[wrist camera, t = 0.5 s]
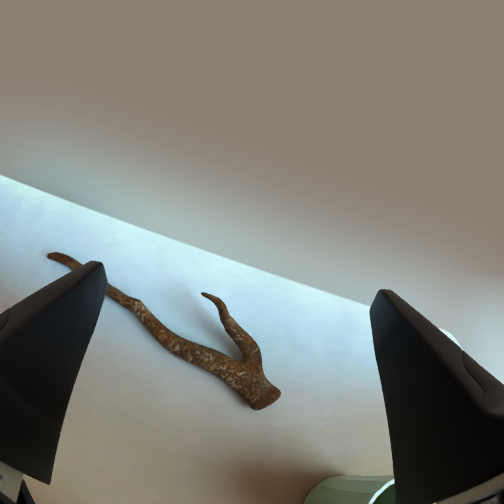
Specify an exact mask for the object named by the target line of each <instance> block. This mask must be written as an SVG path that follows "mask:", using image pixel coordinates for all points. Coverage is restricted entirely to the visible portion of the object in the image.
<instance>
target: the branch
mask: <svg viewBox="0 0 504 504" xmlns="http://www.w3.org/2000/svg"><path fill="white" fill-rule="evenodd" d="M47 257H48V258H49V259H52V260H55V261H58V262H60V263H63V264H65V265H67V266H68V267H70V268H71V269H73V270H75V269H77V268H79V267H80V266H82V264H80V263H79V262H78V261H76V260H75V259H73V258H71V257H70V256H67V255H65V254H61V253H58V252H54V253H49V254H48V255H47ZM106 295H107V296H109V297H110V298H112V299H113V300H114V301H116V302H117V303H119V304H120V305H122V306H123V307H125V308H127V309H130V310H131V311H133V312H134V313H135V314H136V315H137V316H138V317H139V319H140V320H141V321H142V322H143V323H144V325H145V326H146V327H147V328H148V329H149V330H150V332H151V333H152V334H153V335H154V336H155V337H156V338H157V339H158V340H159V341H160V342H161V343H162V344H163V345H164V346H165V347H166V348H167V349H168V350H169V351H171V352H172V353H174V354H175V355H177V356H178V357H180V358H182V359H184V360H186V361H188V362H190V363H192V364H195V365H197V366H199V367H201V368H203V369H205V370H207V371H209V372H211V373H213V374H215V375H216V376H218V377H220V378H221V379H223V380H224V381H226V382H227V383H228V384H230V385H231V386H232V387H233V388H234V389H236V390H237V391H238V392H239V393H240V394H241V395H242V396H243V397H244V398H245V399H246V400H247V402H248V403H249V405H250V407H251V408H252V409H254V410H260V409H263V408H265V407H267V406H269V405H271V404H272V403H273V402H275V401H276V400H277V399H278V398H279V397H280V395H281V392H280V390H279V389H277V388H276V387H275V386H273V385H272V384H271V383H270V382H269V381H268V380H267V379H266V377H265V375H264V372H263V368H262V357H261V352H260V349H259V347H258V345H257V343H256V342H255V341H254V340H253V338H252V337H251V336H250V335H249V334H248V333H247V332H245V331H244V330H243V329H242V328H241V327H240V326H239V325H238V324H237V323H236V321H235V320H234V319H233V318H232V317H231V316H230V315H229V313H228V310H227V307H226V305H225V303H224V302H223V301H222V300H221V299H219V298H218V297H215V296H213V295H210V294H208V293H204V292H202V293H201V295H202V296H204V297H206V298H208V299H209V300H211V301H212V302H213V303H214V304H215V305H216V307H217V308H218V311H219V316H220V320H221V322H222V324H223V325H224V328H225V331H226V332H227V334H228V335H229V336H230V337H231V338H232V339H233V341H234V342H235V344H236V345H237V346H238V348H239V349H240V351H241V352H242V354H243V361H242V362H241V361H238V360H235V359H233V358H231V357H229V356H227V355H225V354H223V353H221V352H219V351H217V350H214V349H211V348H208V347H205V346H202V345H199V344H196V343H194V342H191V341H189V340H186V339H184V338H182V337H180V336H178V335H176V334H175V333H173V332H172V331H170V330H169V329H168V328H166V327H165V326H164V325H163V324H162V323H161V322H160V321H159V320H158V319H157V318H156V317H155V316H154V315H153V314H152V313H151V312H150V311H149V310H148V309H147V308H146V306H145V305H144V304H143V303H142V302H141V301H140V300H138V299H135V298H132V297H129V296H127V295H125V294H124V293H122V292H121V291H119V290H118V289H116V288H115V287H113V286H112V285H110V284H109V283H108V288H107V292H106Z"/></svg>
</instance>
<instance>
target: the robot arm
mask: <svg viewBox="0 0 504 504" xmlns="http://www.w3.org/2000/svg"><path fill="white" fill-rule="evenodd" d="M107 288H108V281H107V277H106V273H105V269H104V265H103V263H101V262H98V261H90V262H88V263H86V264H84V265H82V266H80V267H79V268H77V269H75V270H73V271H71V272H70V273H68V274H66V275H64V276H62V277H61V278H59V279H57V280H55V281H54V282H52V283H50V284H48V285H47V286H45V287H43V288H42V289H40V290H38V291H37V292H35V293H33V294H32V295H30V296H28V297H27V298H25V299H23V300H22V301H20V302H18V303H17V304H15V305H14V306H12V307H11V308H9V309H7V310H6V311H4V312H3V313H1V314H0V504H35V502H34V500H33V498H32V496H31V494H30V492H29V490H28V488H27V486H26V483H25V481H24V480H23V479H22V478H23V474H26V475H28V476H30V477H32V478H34V479H37V480H39V481H41V482H43V483H46V484H48V485H50V482H51V477H52V471H53V466H54V460H55V455H56V451H57V446H58V442H59V437H60V432H61V429H62V425H63V421H64V417H65V414H66V410H67V406H68V403H69V400H70V396H71V393H72V390H73V387H74V384H75V381H76V378H77V375H78V372H79V369H80V366H81V363H82V361H83V358H84V355H85V352H86V350H87V347H88V345H89V342H90V339H91V337H92V334H93V332H94V329H95V327H96V323H97V320H98V317H99V314H100V310H101V307H102V304H103V301H104V298H105V295H106V292H107ZM370 321H371V328H372V335H373V343H374V351H375V356H376V361H377V366H378V370H379V375H380V380H381V385H382V391H383V396H384V402H385V408H386V414H387V420H388V427H389V434H390V442H391V450H392V459H393V472H394V485H395V504H433V503H437V504H504V385H503V384H502V383H501V382H500V381H499V380H497V379H496V378H495V377H494V376H492V375H491V374H490V373H489V372H488V371H486V370H485V369H484V368H483V367H482V366H480V365H479V364H478V363H477V362H476V361H475V360H473V359H472V358H471V357H470V356H469V355H468V354H467V353H466V352H465V351H463V350H462V349H461V348H460V347H459V346H458V345H457V344H455V343H454V342H453V341H452V340H451V339H450V338H449V337H447V336H446V335H445V334H444V333H443V332H442V331H440V330H439V329H438V328H437V327H436V326H434V325H433V324H432V323H431V322H430V321H429V320H427V319H426V318H425V317H424V316H423V315H421V314H420V313H419V312H417V311H416V310H415V309H414V308H413V307H411V306H410V305H409V304H408V303H407V302H405V301H404V300H403V299H402V298H400V297H399V296H398V295H397V294H396V293H394V292H393V291H391V290H387V289H381V290H379V291H378V293H377V295H376V297H375V299H374V301H373V303H372V305H371V307H370Z"/></svg>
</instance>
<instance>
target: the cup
mask: <svg viewBox="0 0 504 504" xmlns="http://www.w3.org/2000/svg"><path fill="white" fill-rule="evenodd" d="M304 504H395V485H394V475H390V476H354V475H338V476H333V477H330V478H328V479H326V480H324V481H322V482H320V483H319V484H318V485H316V486H315V487H314V488H313V489H312V490H311V491H310V493H309V494H308V496H307V497H306V499H305V501H304Z"/></svg>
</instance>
